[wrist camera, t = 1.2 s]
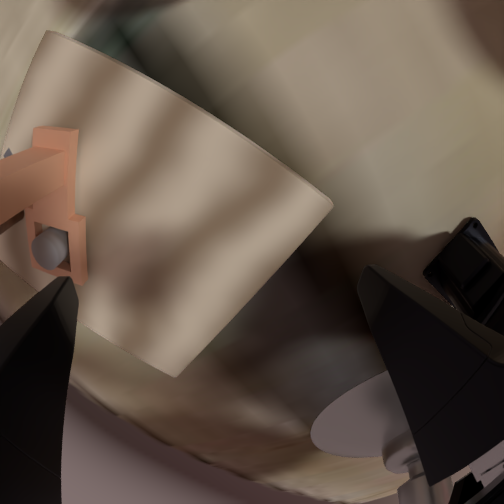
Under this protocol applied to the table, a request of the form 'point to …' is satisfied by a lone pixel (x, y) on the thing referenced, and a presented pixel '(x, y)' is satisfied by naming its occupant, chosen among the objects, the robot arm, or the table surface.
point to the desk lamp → (377, 437)
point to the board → (154, 205)
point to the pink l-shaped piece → (47, 194)
